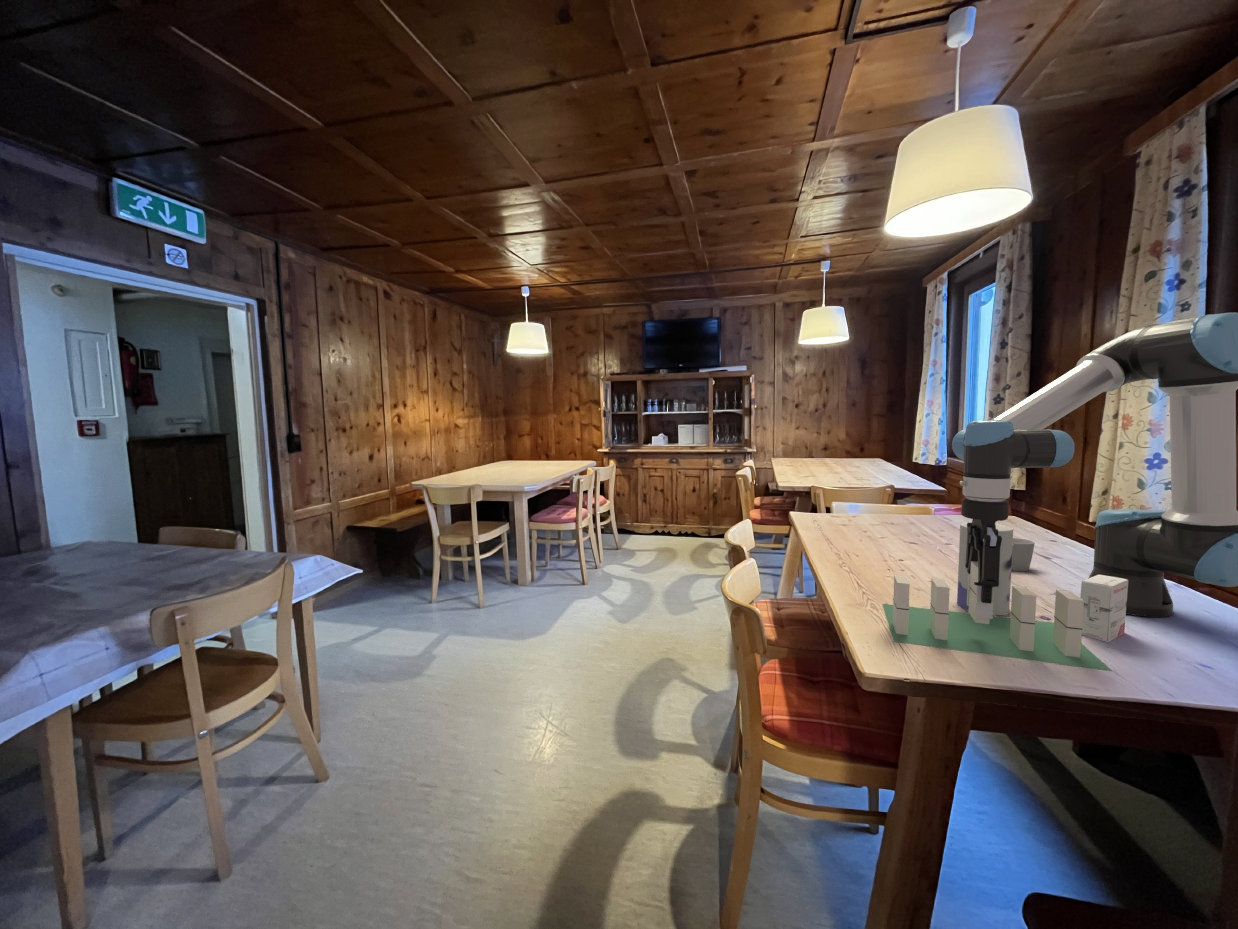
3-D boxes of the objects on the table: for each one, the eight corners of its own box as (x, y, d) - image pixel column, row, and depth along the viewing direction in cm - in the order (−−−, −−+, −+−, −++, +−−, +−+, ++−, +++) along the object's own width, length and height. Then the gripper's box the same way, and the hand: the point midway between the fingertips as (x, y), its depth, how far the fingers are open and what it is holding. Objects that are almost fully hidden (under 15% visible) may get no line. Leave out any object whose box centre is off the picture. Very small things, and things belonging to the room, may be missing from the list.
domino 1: (904, 624, 108) (905, 576, 107) (908, 635, 103) (909, 583, 102) (892, 623, 109) (893, 574, 108) (895, 633, 103) (897, 582, 102)
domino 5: (1067, 645, 97) (1070, 590, 96) (1080, 657, 92) (1084, 600, 91) (1052, 643, 98) (1055, 589, 97) (1065, 655, 93) (1068, 599, 92)
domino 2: (941, 629, 105) (943, 579, 104) (947, 640, 100) (949, 587, 99) (929, 628, 106) (931, 578, 105) (934, 638, 101) (936, 586, 100)
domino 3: (981, 613, 102) (983, 562, 101) (989, 624, 97) (992, 569, 96) (968, 612, 103) (970, 561, 102) (975, 622, 98) (978, 568, 97)
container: (1018, 617, 111) (1022, 530, 109) (968, 614, 113) (971, 529, 112) (995, 601, 121) (999, 521, 119) (949, 599, 123) (953, 520, 121)
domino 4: (1023, 639, 100) (1025, 586, 99) (1033, 651, 94) (1036, 596, 93) (1009, 637, 100) (1012, 585, 99) (1019, 649, 95) (1022, 594, 94)
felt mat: (1058, 625, 107) (1058, 623, 107) (1112, 673, 87) (1112, 671, 87) (882, 605, 120) (882, 603, 120) (893, 643, 100) (893, 641, 100)
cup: (1038, 570, 145) (1040, 541, 144) (1020, 575, 140) (1021, 546, 139) (1009, 563, 151) (1010, 536, 151) (990, 568, 147) (991, 540, 146)
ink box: (1095, 626, 106) (1098, 572, 105) (1126, 634, 102) (1130, 579, 101) (1076, 635, 102) (1080, 579, 101) (1108, 644, 98) (1112, 586, 97)
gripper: (951, 491, 108) (946, 594, 110) (975, 504, 90) (969, 626, 93) (993, 492, 105) (987, 598, 107) (1025, 507, 88) (1018, 632, 90)
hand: (979, 611), depth 100 cm, fingers closed on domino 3, 5 cm apart
